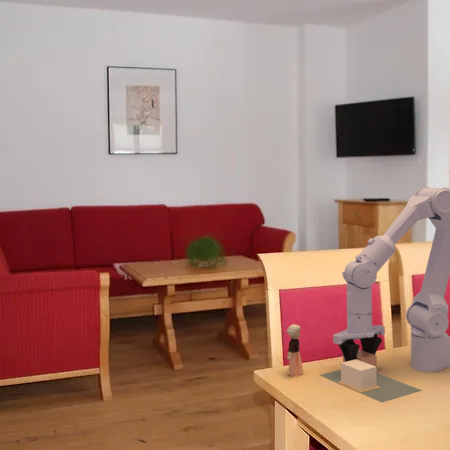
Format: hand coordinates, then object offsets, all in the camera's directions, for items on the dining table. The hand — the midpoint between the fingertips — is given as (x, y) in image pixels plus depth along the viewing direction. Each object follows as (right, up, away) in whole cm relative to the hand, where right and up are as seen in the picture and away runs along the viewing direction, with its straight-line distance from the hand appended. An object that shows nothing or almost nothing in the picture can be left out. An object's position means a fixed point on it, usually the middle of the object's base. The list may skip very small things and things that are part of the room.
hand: (359, 368), depth 139 cm
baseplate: (0, -2, -7) cm, 7 cm away
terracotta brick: (0, -1, 0) cm, 1 cm away
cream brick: (-2, -2, -8) cm, 9 cm away
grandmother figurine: (-15, -2, +1) cm, 15 cm away
